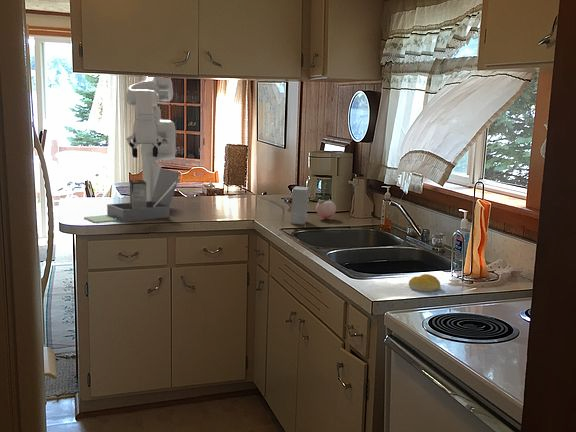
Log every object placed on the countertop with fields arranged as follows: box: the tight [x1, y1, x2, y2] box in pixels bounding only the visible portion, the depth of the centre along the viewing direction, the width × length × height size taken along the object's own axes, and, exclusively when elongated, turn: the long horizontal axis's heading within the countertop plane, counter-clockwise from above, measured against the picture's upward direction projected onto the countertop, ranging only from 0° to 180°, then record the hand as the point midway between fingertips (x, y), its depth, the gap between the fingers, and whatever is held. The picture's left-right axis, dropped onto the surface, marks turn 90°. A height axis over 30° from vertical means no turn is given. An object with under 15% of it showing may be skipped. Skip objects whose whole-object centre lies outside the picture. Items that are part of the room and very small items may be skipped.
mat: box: [83, 214, 119, 224], centre depth 277 cm, size 13×10×1 cm
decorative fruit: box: [315, 197, 337, 220], centre depth 292 cm, size 9×8×10 cm
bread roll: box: [408, 273, 441, 293], centre depth 185 cm, size 8×9×4 cm
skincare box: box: [290, 185, 310, 225], centre depth 282 cm, size 8×7×16 cm
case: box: [106, 168, 181, 223], centre depth 287 cm, size 20×27×20 cm
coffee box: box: [129, 179, 147, 209], centre depth 287 cm, size 9×6×16 cm
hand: (145, 157), depth 284 cm, fingers open, 9 cm apart
